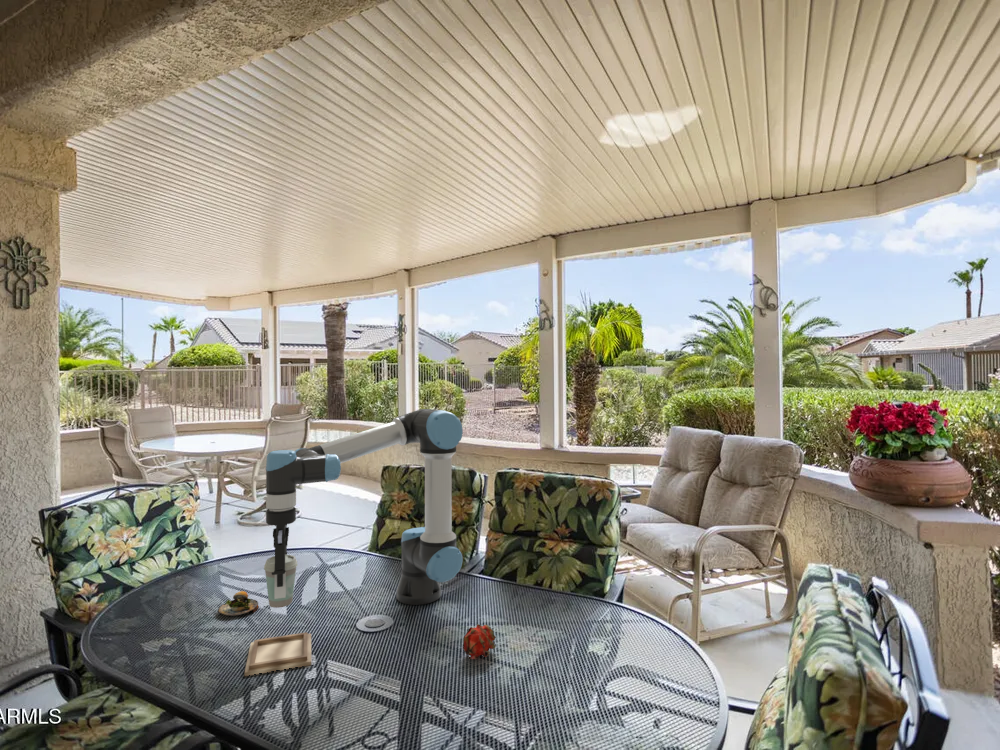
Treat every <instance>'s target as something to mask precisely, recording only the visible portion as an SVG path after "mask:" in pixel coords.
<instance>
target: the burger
mask: <svg viewBox="0 0 1000 750" xmlns="http://www.w3.org/2000/svg"><path fill="white" fill-rule="evenodd" d="M243 589H244V587H242V588H241V590H240V591H238V592H236V593H234V595H233V596H232V599H233V600H232V599H231V600H230V599H227V600H225V603H223V604H221V605H220V606H219V607H218V609H217V613H218V612H219V613H220V614H221V615H225V616H240V615H245V614H247V613H249V612H251V611H252V614H254V613H256V612H258V608H259V607H260V606H259V601H258V600H257V599H253V598H249V594H248V593H247V591H244V590H243Z"/></svg>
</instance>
